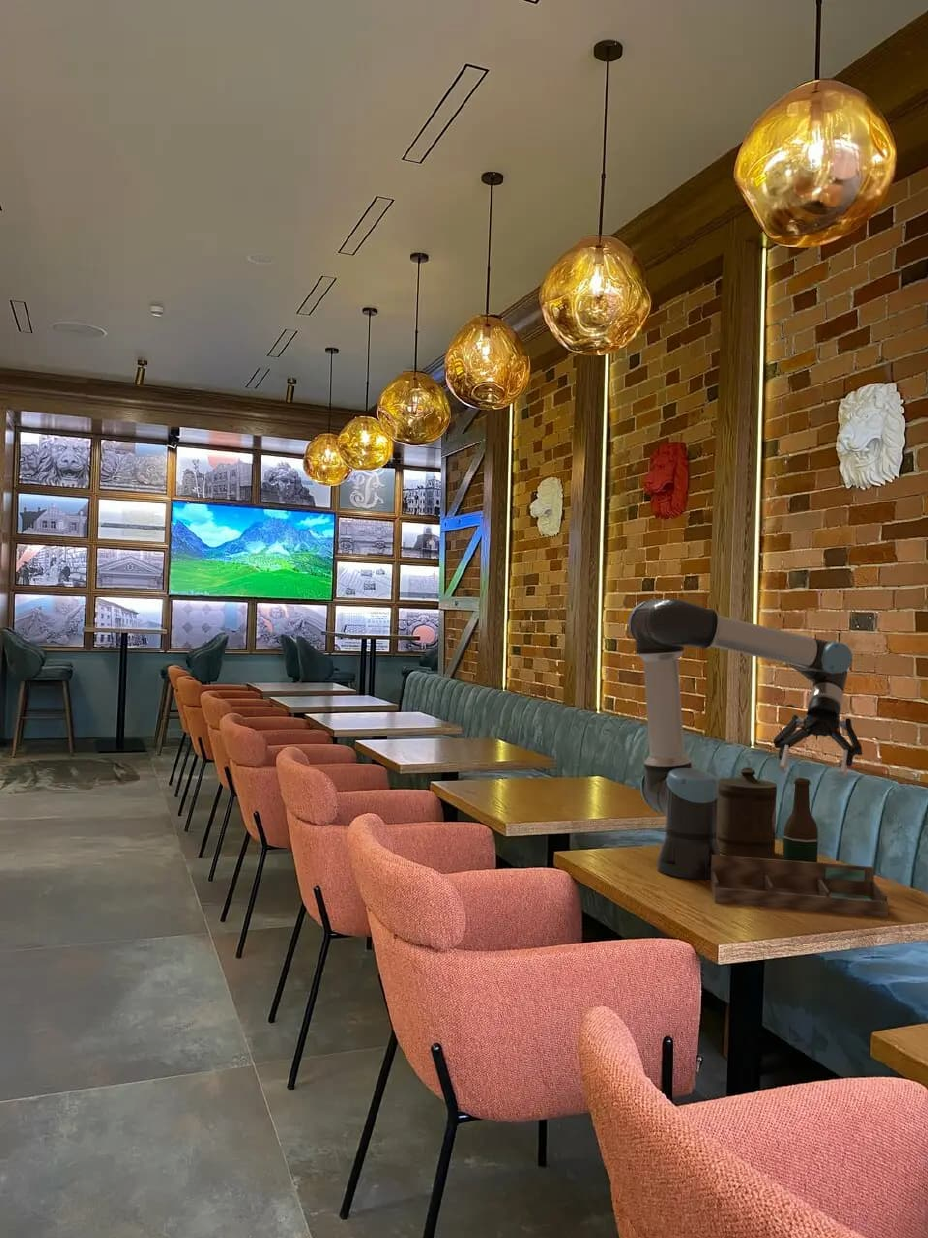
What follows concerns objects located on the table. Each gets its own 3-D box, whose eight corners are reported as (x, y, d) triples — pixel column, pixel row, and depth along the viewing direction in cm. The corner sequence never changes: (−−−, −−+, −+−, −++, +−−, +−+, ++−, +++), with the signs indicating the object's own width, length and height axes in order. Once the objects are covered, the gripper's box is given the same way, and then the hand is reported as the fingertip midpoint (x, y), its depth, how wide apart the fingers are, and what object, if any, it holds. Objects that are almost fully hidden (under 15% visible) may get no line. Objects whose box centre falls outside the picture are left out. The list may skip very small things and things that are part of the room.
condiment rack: (714, 902, 196) (715, 869, 196) (710, 886, 209) (711, 854, 209) (887, 917, 189) (888, 882, 190) (872, 899, 202) (873, 867, 202)
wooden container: (787, 857, 238) (790, 771, 239) (740, 861, 233) (742, 772, 233) (749, 844, 252) (751, 762, 252) (703, 847, 247) (706, 764, 247)
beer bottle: (776, 879, 216) (779, 775, 216) (810, 880, 216) (813, 776, 216) (787, 888, 209) (790, 781, 209) (822, 890, 208) (825, 782, 208)
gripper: (879, 718, 231) (870, 787, 218) (776, 711, 244) (761, 776, 231) (877, 698, 227) (867, 767, 214) (771, 692, 240) (756, 757, 227)
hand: (812, 772), depth 222 cm, fingers open, 13 cm apart
